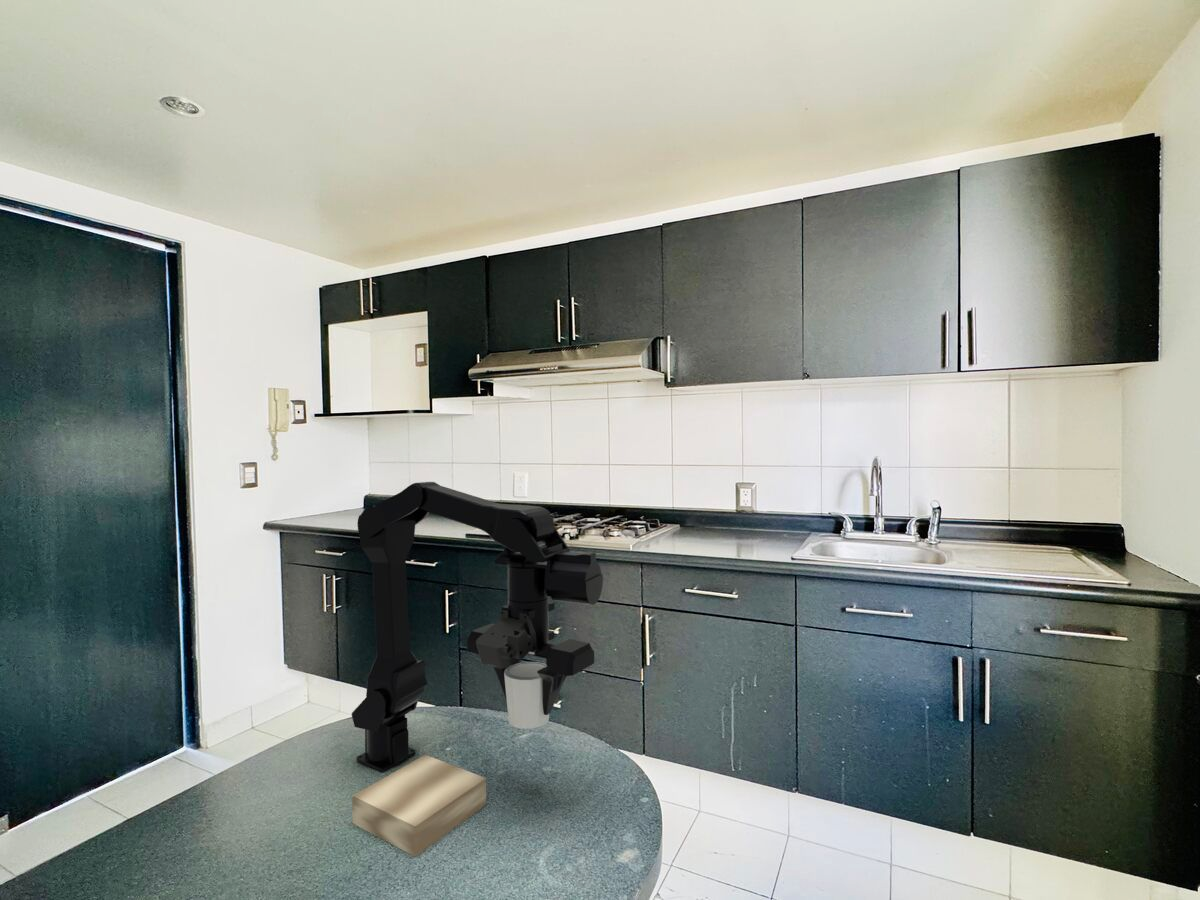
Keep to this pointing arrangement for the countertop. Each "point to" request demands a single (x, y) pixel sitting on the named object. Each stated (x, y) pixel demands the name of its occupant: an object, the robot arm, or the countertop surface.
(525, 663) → the shot glass
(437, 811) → the birch block
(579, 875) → the countertop surface
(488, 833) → the countertop surface
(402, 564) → the robot arm
